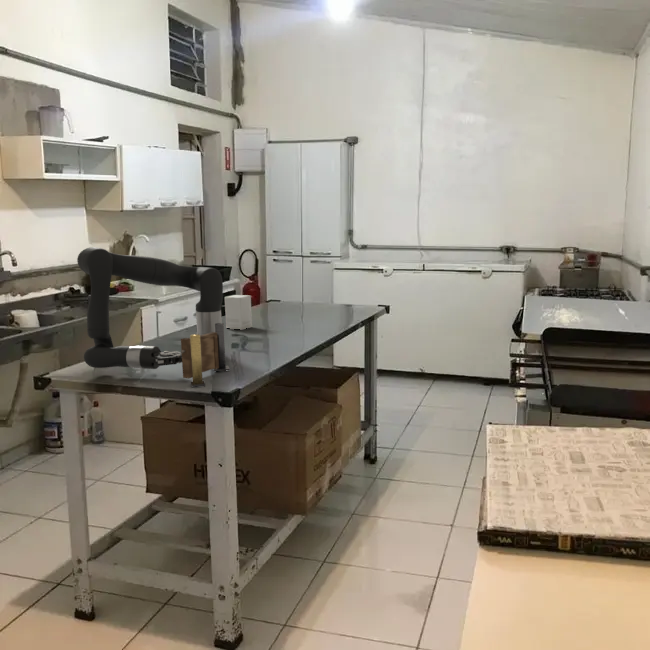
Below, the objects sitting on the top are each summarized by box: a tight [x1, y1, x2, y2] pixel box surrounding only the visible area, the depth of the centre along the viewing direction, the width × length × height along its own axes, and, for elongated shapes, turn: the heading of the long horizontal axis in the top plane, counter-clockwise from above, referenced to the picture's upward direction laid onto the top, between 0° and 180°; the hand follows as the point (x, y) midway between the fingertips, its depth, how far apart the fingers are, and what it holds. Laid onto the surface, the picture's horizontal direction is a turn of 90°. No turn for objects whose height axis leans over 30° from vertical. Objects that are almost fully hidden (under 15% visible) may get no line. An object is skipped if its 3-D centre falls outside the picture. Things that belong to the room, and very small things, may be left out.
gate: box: [180, 332, 219, 379], centre depth 227 cm, size 17×2×13 cm, turn 150°
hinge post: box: [213, 322, 231, 372], centre depth 236 cm, size 5×5×16 cm
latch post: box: [189, 333, 206, 387], centre depth 216 cm, size 4×4×16 cm
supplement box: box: [223, 294, 253, 331], centre depth 319 cm, size 9×9×15 cm
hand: (192, 359), depth 225 cm, fingers closed
